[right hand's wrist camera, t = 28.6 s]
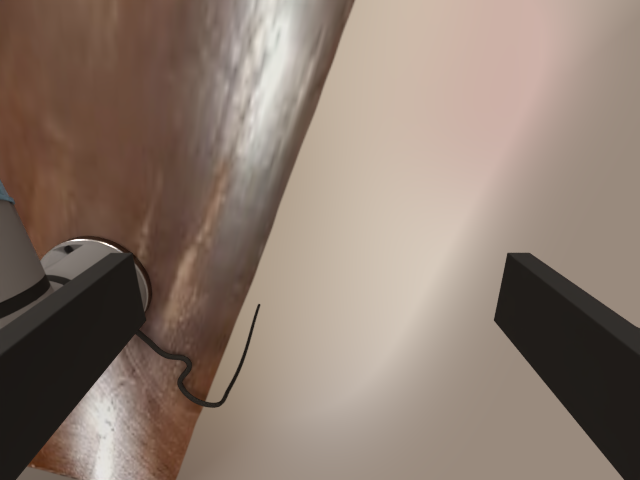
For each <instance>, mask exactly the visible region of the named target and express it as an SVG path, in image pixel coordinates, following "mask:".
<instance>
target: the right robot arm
mask: <svg viewBox="0 0 640 480" xmlns="http://www.w3.org/2000/svg"><path fill="white" fill-rule="evenodd" d="M14 204H15V201H14V200H13V198H11V197H9V195H8V193H7V192H6V190H5V188H4V186H3V184H2V182H1V180H0V480H16V479H17V478H18V476H19V475H20V474H21V473H22V471H23V470H24V469H25V468H26V467H27V465H28V464H29V463H30V462H31V460H32V459H33V458H34V457H35V456H36V454H37V453H38V452H39V451H40V449H41V448H42V447H43V446H44V445H45V443H46V442H47V441H48V440H49V438H50V437H51V436H52V435H53V434H54V432H55V431H56V430H57V429H58V427H59V426H60V425H61V424H62V423H63V421H64V420H65V419H66V418H67V416H68V415H69V414H70V413H71V412H72V410H73V409H74V408H75V407H76V405H77V404H78V403H79V402H80V401H81V399H82V398H83V397H84V396H85V394H86V393H87V392H88V391H89V390H90V388H91V387H92V386H93V385H94V383H95V382H96V381H97V380H98V379H99V377H100V376H101V375H102V374H103V372H104V371H105V370H106V369H107V368H108V366H109V365H110V364H111V363H112V361H113V360H114V359H115V358H116V357H117V355H118V354H119V353H120V352H121V350H122V349H123V348H124V347H125V346H126V344H127V343H128V342H129V341H130V339H131V338H132V337H133V336H134V334H136V335H137V336H139V337H140V338H141V339H142V340H143V341H145V342H146V343H147V344H148V345H149V346H150V347H151V348H152V349H153V350H154V351H155V352H157V353H158V354H159V355H161V356H163V357H165V358H167V359H173V360H182V361H184V362H185V363H186V364H187V368H186V370H185V371H184V372H183V373H182V374H181V376H180V377H179V379H178V387H179V389H180V390H181V392H182V393H183V394H184V395H185V396H186V397H187V398H188V399H189V400H191V401H192V402H194V403H196V404H198V405H201V406H205V407H212V408H215V407H219V406H221V405H222V404H223V403H224V402H225V401H226V399H227V397H228V394H229V392H230V390H231V389H232V387H233V385H234V383H235V381H236V379H237V377H238V375H239V373H240V370H241V368H242V365H243V363H244V360H245V357H246V354H247V350H248V347H249V344H250V340H251V337H252V333H253V329H254V325H255V322H256V318H257V315H258V311H259V308H260V304H258V306H257V308H256V311H255V315H254V318H253V321H252V325H251V328H250V332H249V336H248V339H247V342H246V346H245V349H244V352H243V355H242V358H241V361H240V363H239V365H238V368H237V370H236V372H235V374H234V376H233V379H232V380H231V382H230V384H229V386H228V388H227V389H226V391H225V393H224V396H223V398H222V399H221V401H219V402H217V403H209V402H205V401H202V400H199V399H197V398H196V397H194V396H193V395H191V394H190V393H189V392H188V391H187V390H186V389H185V387H184V386H183V383H182V381H183V379H184V378H185V377H186V376H187V374H188V373H189V372H190V370H191V368H192V363H191V361H190V360H189V359H188V358H187V357H185V356H182V355H172V354H168V353H166V352H164V351H163V350H161V349H160V348H159V347H158V346H157V345H156V344H155V343H154V342H153V341H152V340H151V339H149V338H148V337H147V336H146V335H145V334H144V333H142V332H141V331H140V330H139V328H140V327H141V326H142V325H143V323H144V322H145V321H146V318H145V312H146V311H147V309H148V307H149V304H150V301H151V294H152V291H151V283H150V280H149V277H148V274H147V272H146V270H145V269H144V267H143V266H142V264H141V263H140V262H139V260H138V259H137V258H136V257H135V256H134V255H133V253H131V252H129V251H128V250H127V249H125V248H124V247H122V246H121V245H119V244H117V243H115V242H112V241H110V240H107V239H104V238H99V237H92V236H82V237H76V238H72V239H69V240H67V241H65V242H63V243H61V244H59V245H57V246H56V247H54V248H53V249H51V250H50V251H49V252H48V253H47V254H46V255H45V256H44V257H43V258H42V259H41V261H40V260H39V258H38V256H37V254H36V251H35V249H34V247H33V245H32V243H31V241H30V239H29V237H28V234H27V232H26V230H25V228H24V226H23V224H22V222H21V219H20V217H19V215H18V213H17V211H16V209H15V207H14ZM494 321H495V322H496V323H497V325H498V326H499V327H500V328H501V330H502V331H503V332H504V333H505V334H506V336H507V337H508V338H509V339H510V341H511V342H512V343H513V344H514V346H515V347H516V348H517V349H518V350H519V352H520V353H521V354H522V355H523V357H524V358H525V359H526V360H527V361H528V363H529V364H530V365H531V366H532V367H533V369H534V370H535V371H536V372H537V374H538V375H539V376H540V377H541V379H542V380H543V381H544V382H545V383H546V385H547V386H548V387H549V388H550V390H551V391H552V392H553V393H554V394H555V396H556V397H557V398H558V399H559V401H560V402H561V403H562V404H563V405H564V407H565V408H566V409H567V410H568V412H569V413H570V414H571V415H572V416H573V418H574V419H575V420H576V421H577V423H578V424H579V425H580V426H581V427H582V429H583V430H584V431H585V432H586V434H587V435H588V436H589V437H590V438H591V440H592V441H593V442H594V443H595V445H596V446H597V447H598V448H599V449H600V451H601V452H602V453H603V454H604V456H605V457H606V458H607V459H608V460H609V462H610V463H611V464H612V465H613V467H614V468H615V469H616V470H617V471H618V473H619V474H620V475H621V476H622V478H623V479H624V480H640V328H638V327H636V326H634V325H633V324H631V323H630V322H628V321H627V320H626V319H624V318H623V317H621V316H620V315H618V314H617V313H615V312H614V311H613V310H611V309H610V308H608V307H607V306H605V305H604V304H602V303H601V302H600V301H598V300H597V299H595V298H594V297H592V296H591V295H589V294H588V293H587V292H585V291H584V290H582V289H581V288H579V287H578V286H577V285H575V284H574V283H572V282H571V281H569V280H568V279H566V278H565V277H563V276H562V275H561V274H559V273H558V272H556V271H555V270H553V269H552V268H551V267H549V266H548V265H546V264H545V263H543V262H542V261H540V260H539V259H538V258H536V257H535V256H533V255H532V254H530V253H507V258H506V263H505V268H504V273H503V278H502V283H501V288H500V293H499V298H498V303H497V308H496V313H495V318H494Z"/></svg>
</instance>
